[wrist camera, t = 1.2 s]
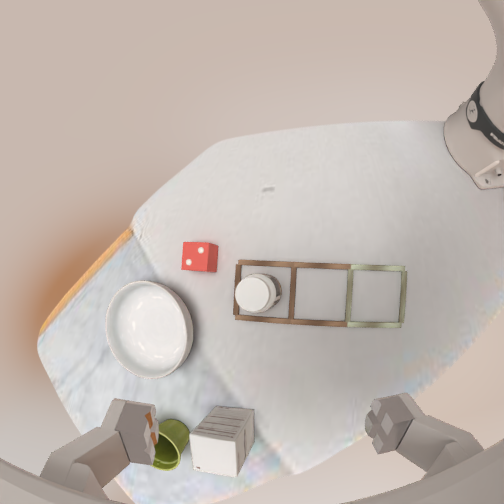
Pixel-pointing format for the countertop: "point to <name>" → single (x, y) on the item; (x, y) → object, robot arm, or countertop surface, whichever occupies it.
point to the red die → (199, 256)
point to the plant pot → (170, 444)
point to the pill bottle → (258, 292)
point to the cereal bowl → (149, 329)
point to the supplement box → (222, 441)
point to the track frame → (348, 300)
